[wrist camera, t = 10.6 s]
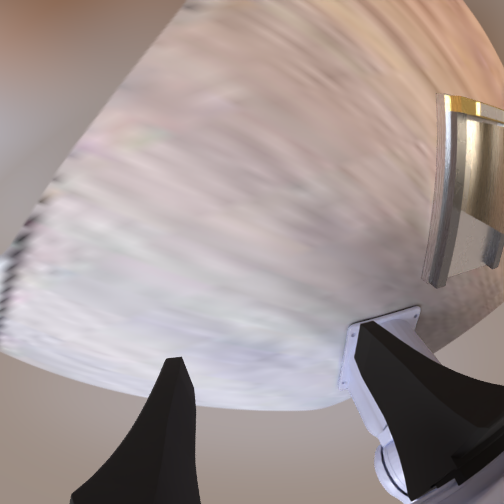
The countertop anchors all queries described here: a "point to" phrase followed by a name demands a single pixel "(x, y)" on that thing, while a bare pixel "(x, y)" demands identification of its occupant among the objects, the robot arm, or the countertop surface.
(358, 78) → the countertop surface
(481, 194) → the tan notched block
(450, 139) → the silver channel bracket
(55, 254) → the countertop surface
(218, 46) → the countertop surface
